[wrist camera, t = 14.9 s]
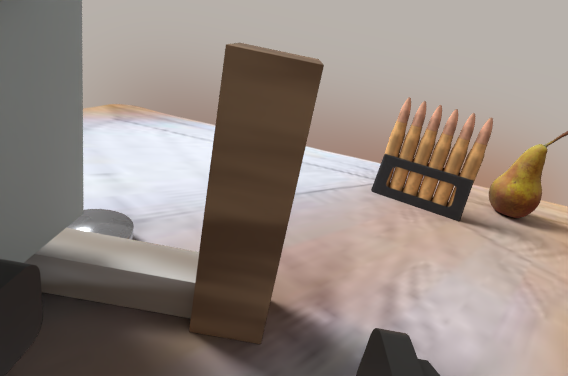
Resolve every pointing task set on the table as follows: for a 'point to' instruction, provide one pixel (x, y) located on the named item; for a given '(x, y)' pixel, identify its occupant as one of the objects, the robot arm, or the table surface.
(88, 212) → the steel puck
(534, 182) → the fruit
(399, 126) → the ammunition clip
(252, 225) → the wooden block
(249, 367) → the table surface
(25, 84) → the cabinet
